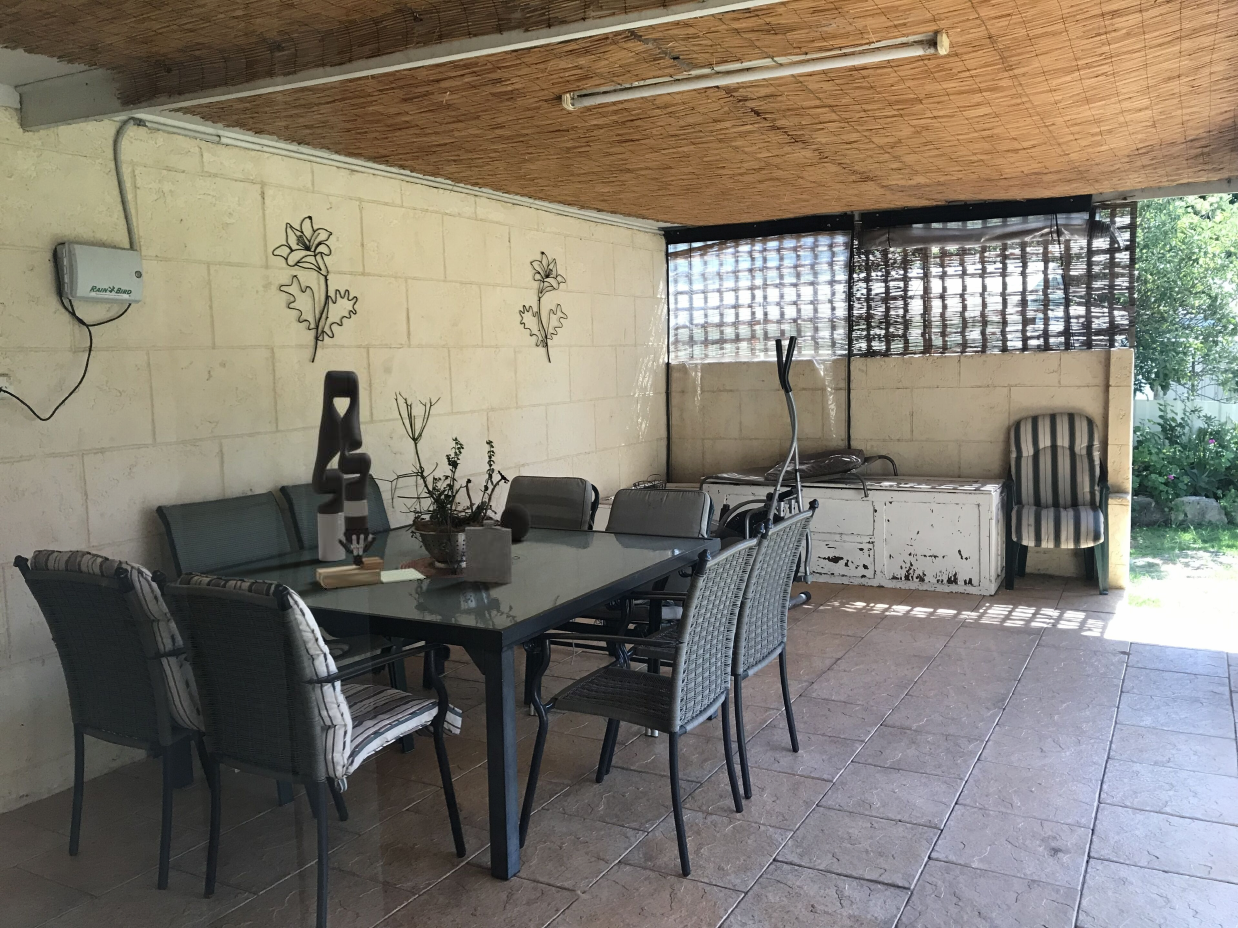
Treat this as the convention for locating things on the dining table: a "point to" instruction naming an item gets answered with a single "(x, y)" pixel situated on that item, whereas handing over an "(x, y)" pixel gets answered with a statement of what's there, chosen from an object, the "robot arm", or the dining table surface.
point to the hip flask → (488, 553)
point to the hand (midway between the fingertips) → (357, 565)
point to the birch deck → (347, 576)
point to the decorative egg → (516, 521)
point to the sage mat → (400, 575)
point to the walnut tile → (372, 563)
